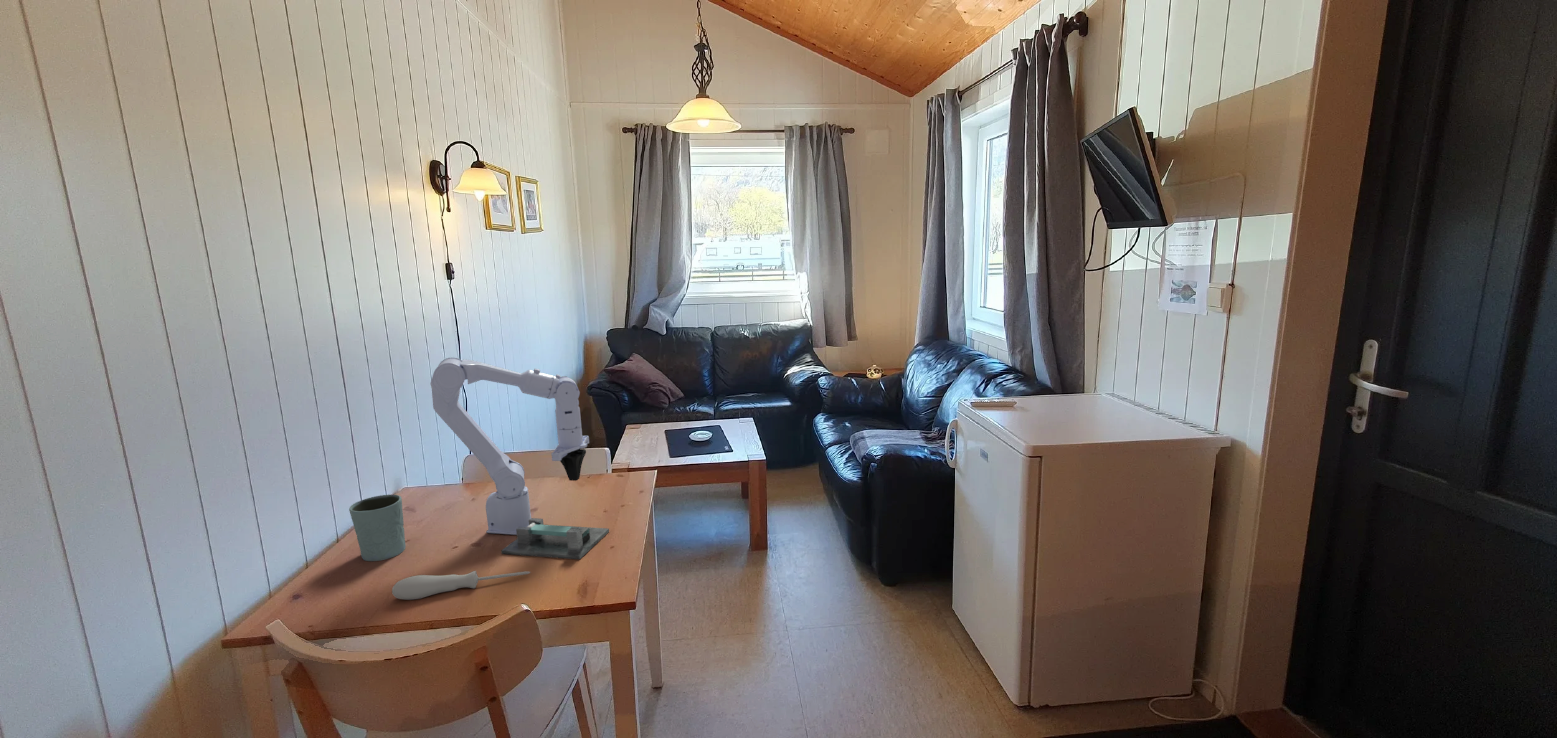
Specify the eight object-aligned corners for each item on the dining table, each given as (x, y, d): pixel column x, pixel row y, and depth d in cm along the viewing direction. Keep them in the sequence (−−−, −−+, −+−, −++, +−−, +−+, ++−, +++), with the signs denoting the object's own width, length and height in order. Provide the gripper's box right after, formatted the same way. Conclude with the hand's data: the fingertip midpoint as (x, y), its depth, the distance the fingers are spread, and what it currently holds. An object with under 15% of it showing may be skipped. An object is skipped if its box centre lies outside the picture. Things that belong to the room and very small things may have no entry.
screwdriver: (531, 588, 131) (530, 571, 129) (391, 607, 123) (388, 589, 121) (531, 572, 135) (530, 556, 134) (396, 590, 127) (393, 573, 126)
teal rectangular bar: (523, 534, 147) (523, 527, 147) (531, 528, 150) (530, 522, 150) (582, 539, 144) (582, 532, 144) (589, 533, 147) (589, 526, 147)
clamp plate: (501, 553, 143) (498, 530, 142) (537, 527, 156) (534, 505, 155) (579, 559, 139) (577, 535, 138) (609, 531, 152) (607, 509, 151)
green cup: (381, 565, 139) (372, 513, 137) (345, 560, 142) (337, 509, 140) (419, 544, 149) (412, 495, 146) (385, 540, 152) (378, 492, 149)
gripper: (568, 435, 149) (574, 491, 152) (598, 419, 163) (602, 470, 166) (541, 434, 151) (547, 489, 153) (572, 418, 165) (577, 469, 167)
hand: (574, 479), depth 159 cm, fingers closed
